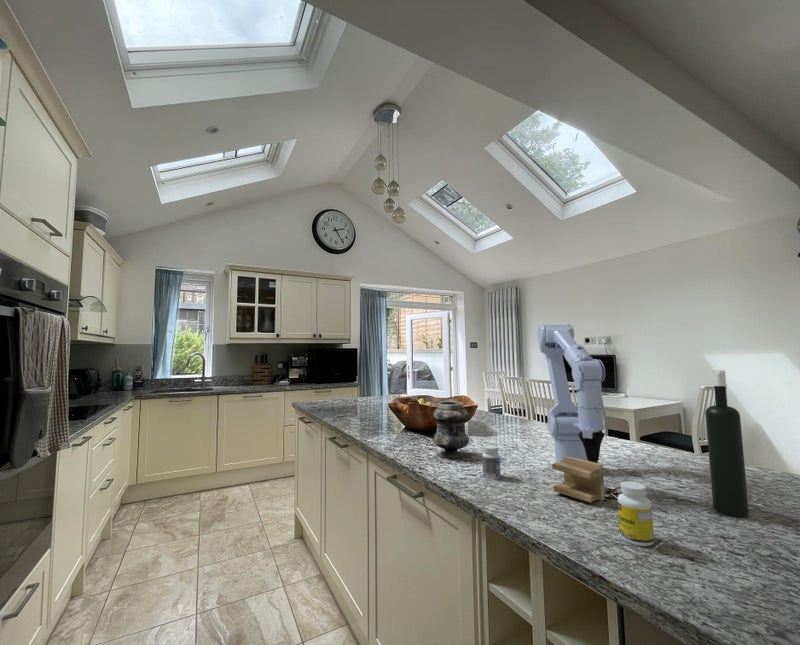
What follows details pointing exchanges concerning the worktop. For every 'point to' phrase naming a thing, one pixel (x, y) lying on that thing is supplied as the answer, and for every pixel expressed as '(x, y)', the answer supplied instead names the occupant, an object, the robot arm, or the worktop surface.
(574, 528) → the worktop surface
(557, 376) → the robot arm
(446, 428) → the dark grey vase
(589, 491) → the tan notched block
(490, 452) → the pill bottle
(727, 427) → the wine bottle
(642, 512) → the supplement bottle
